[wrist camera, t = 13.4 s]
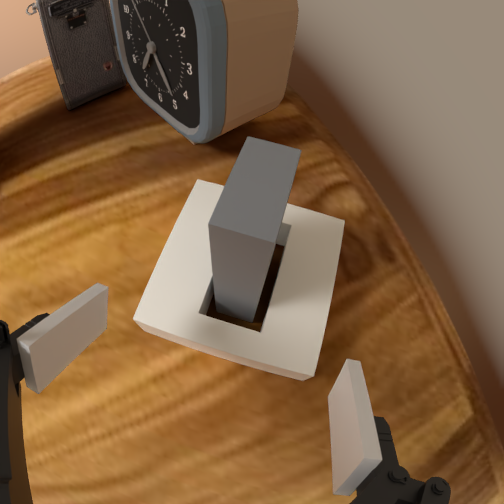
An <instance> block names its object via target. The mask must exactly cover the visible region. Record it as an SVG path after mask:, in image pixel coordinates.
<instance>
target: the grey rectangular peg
mask: <svg viewBox="0 0 504 504" xmlns="http://www.w3.org/2000/svg"><path fill="white" fill-rule="evenodd" d="M300 154H301V150H299V149H295V148H292V147H288V146H285V145H281V144H277V143H273V142H269V141H265V140H261V139H257V138H253V137H249V136H248V137H247V139H246V141H245V143H244V145H243V147H242V149H241V152H240V154H239V156H238V158H237V160H236V162H235V164H234V167H233V169H232V171H231V173H230V175H229V178H228V180H227V182H226V184H225V186H224V189H223V191H222V193H221V195H220V198H219V200H218V202H217V204H216V207H215V209H214V211H213V214H212V216H211V218H210V220H209V223H208V229H209V241H210V252H211V263H212V274H213V284H214V294H215V303H216V312H219V313H222V314H225V315H228V316H231V317H235V318H238V319H241V320H244V321H248V322H251V323H253V319H254V316H255V313H256V309H257V306H258V303H259V300H260V296H261V293H262V290H263V286H264V283H265V280H266V276H267V273H268V270H269V266H270V263H271V259H272V256H273V252H274V249H275V245H276V242H277V238H278V235H279V231H280V227H281V224H282V220H283V217H284V213H285V209H286V206H287V202H288V198H289V195H290V191H291V187H292V184H293V180H294V176H295V173H296V169H297V165H298V162H299V158H300Z"/></svg>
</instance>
